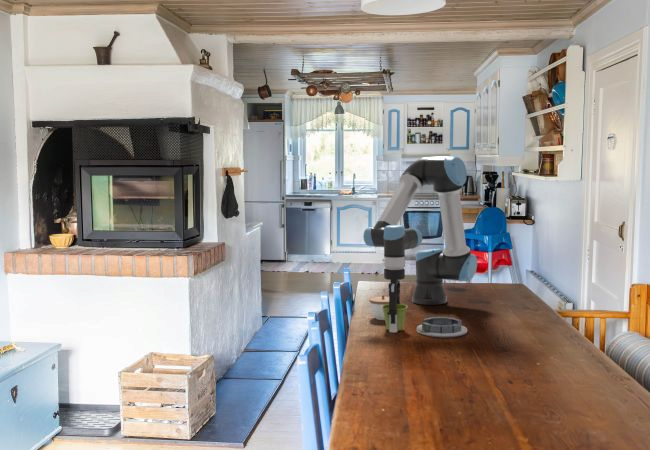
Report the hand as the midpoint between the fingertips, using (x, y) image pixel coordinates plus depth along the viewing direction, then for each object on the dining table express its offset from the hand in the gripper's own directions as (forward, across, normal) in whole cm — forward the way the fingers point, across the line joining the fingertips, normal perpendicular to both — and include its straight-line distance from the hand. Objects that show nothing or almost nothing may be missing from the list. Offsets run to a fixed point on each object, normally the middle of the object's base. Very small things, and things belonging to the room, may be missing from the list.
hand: (394, 328), depth 247 cm
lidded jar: (0, -18, -6) cm, 19 cm away
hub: (0, 0, +17) cm, 17 cm away
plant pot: (0, 0, 0) cm, 0 cm away
